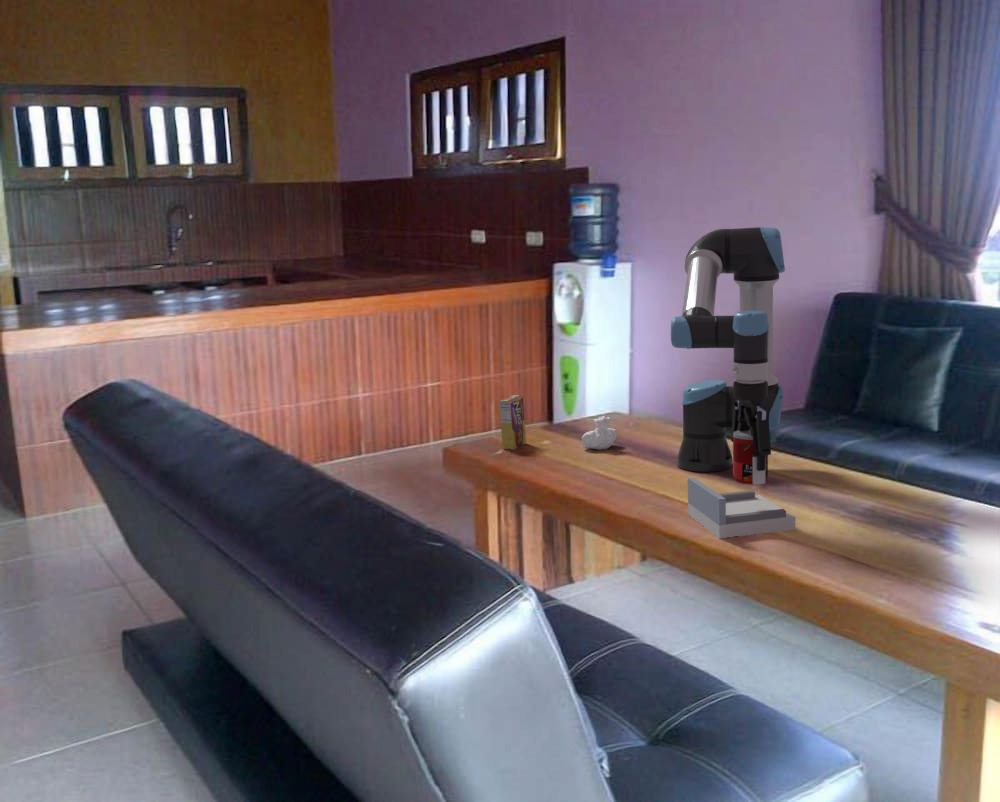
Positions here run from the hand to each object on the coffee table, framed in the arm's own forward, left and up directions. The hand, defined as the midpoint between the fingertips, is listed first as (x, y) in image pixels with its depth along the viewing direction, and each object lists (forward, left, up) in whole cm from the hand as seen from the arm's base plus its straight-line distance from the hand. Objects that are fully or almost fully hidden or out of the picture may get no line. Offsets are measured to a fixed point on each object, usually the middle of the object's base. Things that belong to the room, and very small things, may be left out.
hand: (750, 478), depth 231 cm
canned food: (0, 0, 0) cm, 0 cm away
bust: (-78, -11, -10) cm, 80 cm away
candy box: (-91, -35, -10) cm, 98 cm away
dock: (0, -2, -10) cm, 10 cm away
